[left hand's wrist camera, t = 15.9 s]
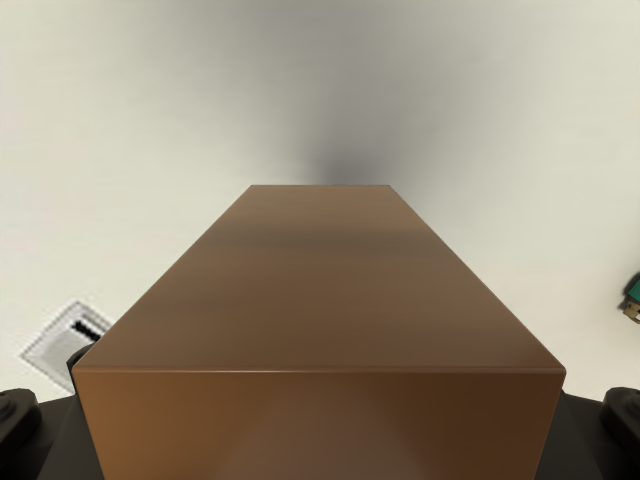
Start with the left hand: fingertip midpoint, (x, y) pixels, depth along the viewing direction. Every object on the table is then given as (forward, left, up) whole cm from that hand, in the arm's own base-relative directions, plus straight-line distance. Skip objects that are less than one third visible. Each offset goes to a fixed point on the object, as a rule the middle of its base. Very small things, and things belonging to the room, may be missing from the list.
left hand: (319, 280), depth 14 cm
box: (+7, +7, -2) cm, 10 cm away
